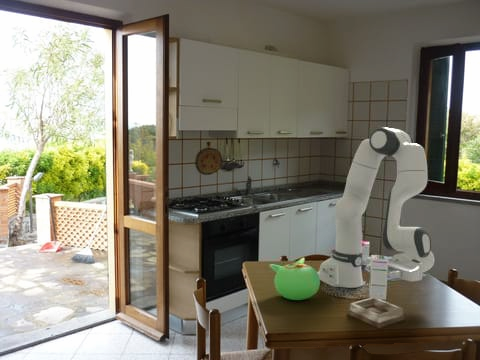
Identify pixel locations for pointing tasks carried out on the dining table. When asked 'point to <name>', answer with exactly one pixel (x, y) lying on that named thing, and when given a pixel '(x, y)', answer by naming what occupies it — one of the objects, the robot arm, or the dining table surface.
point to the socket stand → (376, 312)
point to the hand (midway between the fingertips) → (378, 271)
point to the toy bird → (296, 280)
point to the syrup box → (378, 277)
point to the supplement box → (364, 252)
